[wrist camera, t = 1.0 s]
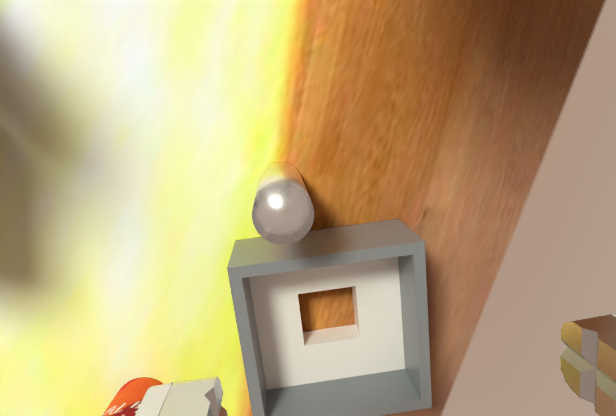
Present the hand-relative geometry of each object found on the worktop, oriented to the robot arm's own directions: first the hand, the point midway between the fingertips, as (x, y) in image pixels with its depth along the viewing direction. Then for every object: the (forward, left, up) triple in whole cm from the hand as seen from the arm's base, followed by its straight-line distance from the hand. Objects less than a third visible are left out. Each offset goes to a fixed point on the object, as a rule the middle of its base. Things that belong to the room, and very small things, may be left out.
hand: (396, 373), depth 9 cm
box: (+13, +1, -29) cm, 32 cm away
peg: (0, -2, -29) cm, 29 cm away
